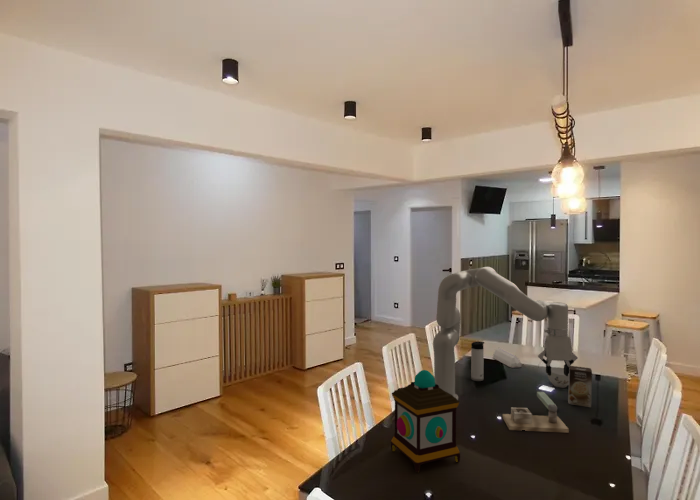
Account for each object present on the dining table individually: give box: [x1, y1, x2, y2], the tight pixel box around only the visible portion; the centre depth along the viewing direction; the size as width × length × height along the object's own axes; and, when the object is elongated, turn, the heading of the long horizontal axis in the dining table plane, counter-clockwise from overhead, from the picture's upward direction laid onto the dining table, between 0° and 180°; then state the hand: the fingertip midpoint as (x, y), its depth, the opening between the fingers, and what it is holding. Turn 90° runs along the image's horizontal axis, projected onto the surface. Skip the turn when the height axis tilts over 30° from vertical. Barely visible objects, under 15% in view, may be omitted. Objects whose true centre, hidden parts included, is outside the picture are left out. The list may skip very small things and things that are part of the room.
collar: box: [510, 406, 533, 424], centre depth 178 cm, size 6×6×4 cm
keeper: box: [536, 391, 558, 413], centre depth 184 cm, size 3×18×2 cm, turn 173°
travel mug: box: [470, 341, 485, 382], centre depth 235 cm, size 6×7×20 cm
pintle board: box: [502, 410, 570, 434], centre depth 178 cm, size 22×12×6 cm, turn 83°
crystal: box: [492, 347, 522, 369], centre depth 266 cm, size 7×7×24 cm
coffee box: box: [567, 365, 593, 408], centre depth 200 cm, size 9×6×16 cm
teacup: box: [546, 366, 569, 389], centre depth 225 cm, size 15×12×8 cm
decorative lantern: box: [390, 369, 461, 473], centre depth 152 cm, size 20×20×30 cm
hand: (557, 374), depth 186 cm, fingers open, 6 cm apart
